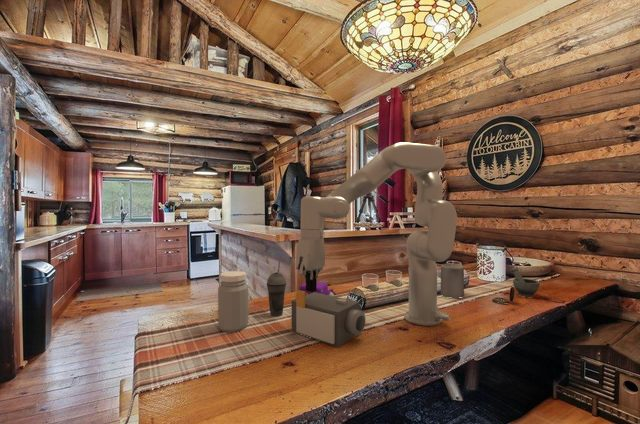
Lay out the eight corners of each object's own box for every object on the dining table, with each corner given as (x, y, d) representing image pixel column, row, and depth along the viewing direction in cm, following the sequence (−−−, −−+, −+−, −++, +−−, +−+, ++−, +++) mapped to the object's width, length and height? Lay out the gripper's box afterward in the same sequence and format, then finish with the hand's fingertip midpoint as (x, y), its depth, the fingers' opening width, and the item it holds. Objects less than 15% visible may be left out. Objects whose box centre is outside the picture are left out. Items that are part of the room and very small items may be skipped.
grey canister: (446, 291, 143) (446, 260, 143) (467, 295, 136) (467, 262, 136) (436, 295, 137) (436, 262, 136) (458, 300, 129) (458, 265, 129)
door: (334, 343, 86) (334, 298, 86) (333, 344, 86) (333, 298, 85) (298, 331, 95) (297, 289, 95) (296, 331, 94) (296, 290, 94)
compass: (491, 299, 131) (492, 282, 131) (513, 302, 128) (513, 284, 127) (492, 304, 124) (492, 287, 124) (515, 307, 120) (515, 289, 120)
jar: (211, 330, 98) (211, 275, 97) (230, 320, 107) (230, 269, 107) (237, 334, 94) (236, 277, 94) (254, 323, 103) (254, 271, 103)
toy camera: (332, 313, 114) (332, 286, 114) (297, 310, 117) (297, 284, 117) (336, 304, 125) (336, 279, 125) (304, 301, 127) (304, 278, 127)
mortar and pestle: (543, 297, 134) (544, 270, 133) (531, 300, 129) (532, 272, 129) (517, 291, 144) (517, 266, 143) (505, 293, 139) (505, 268, 139)
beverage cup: (267, 311, 116) (267, 259, 115) (286, 310, 116) (286, 259, 116) (265, 318, 108) (265, 262, 108) (286, 317, 109) (286, 262, 109)
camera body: (369, 336, 93) (369, 301, 93) (348, 350, 84) (348, 312, 84) (314, 320, 106) (314, 289, 106) (291, 331, 97) (291, 298, 97)
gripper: (316, 232, 106) (316, 284, 106) (287, 235, 94) (286, 293, 94) (334, 233, 101) (333, 288, 102) (306, 236, 89) (305, 298, 90)
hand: (311, 290), depth 98 cm, fingers closed
